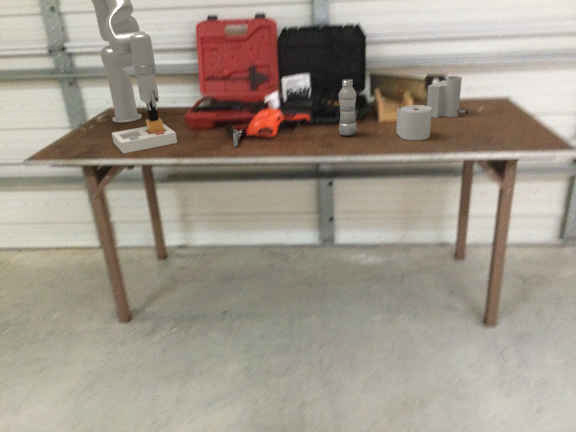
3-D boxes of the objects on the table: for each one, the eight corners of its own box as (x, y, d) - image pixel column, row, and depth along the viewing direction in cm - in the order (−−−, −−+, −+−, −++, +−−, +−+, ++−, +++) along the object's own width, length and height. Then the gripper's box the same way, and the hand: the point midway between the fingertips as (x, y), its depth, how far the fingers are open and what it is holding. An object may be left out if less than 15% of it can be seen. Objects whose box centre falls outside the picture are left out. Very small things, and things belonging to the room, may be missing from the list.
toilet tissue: (429, 141, 177) (431, 112, 173) (394, 140, 180) (395, 112, 176) (429, 132, 186) (431, 104, 182) (396, 131, 189) (397, 104, 185)
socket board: (113, 142, 196) (111, 131, 194) (164, 133, 204) (162, 121, 202) (123, 153, 183) (120, 141, 181) (177, 142, 191) (175, 130, 189)
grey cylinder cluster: (441, 109, 214) (444, 73, 207) (473, 114, 205) (477, 76, 198) (426, 116, 206) (428, 78, 200) (458, 121, 197) (462, 81, 190)
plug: (149, 140, 196) (145, 119, 193) (162, 137, 199) (158, 117, 195) (152, 143, 193) (149, 122, 189) (165, 140, 195) (162, 120, 191)
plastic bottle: (358, 132, 190) (359, 78, 182) (353, 138, 185) (353, 82, 176) (342, 131, 193) (342, 77, 184) (336, 136, 187) (335, 81, 179)
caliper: (237, 148, 183) (235, 131, 180) (234, 148, 183) (232, 131, 180) (246, 131, 201) (244, 115, 198) (243, 131, 201) (242, 116, 198)
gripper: (129, 69, 188) (139, 118, 196) (140, 74, 176) (149, 126, 184) (150, 66, 192) (158, 114, 199) (161, 71, 180) (169, 122, 188)
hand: (153, 120), depth 192 cm, fingers closed
